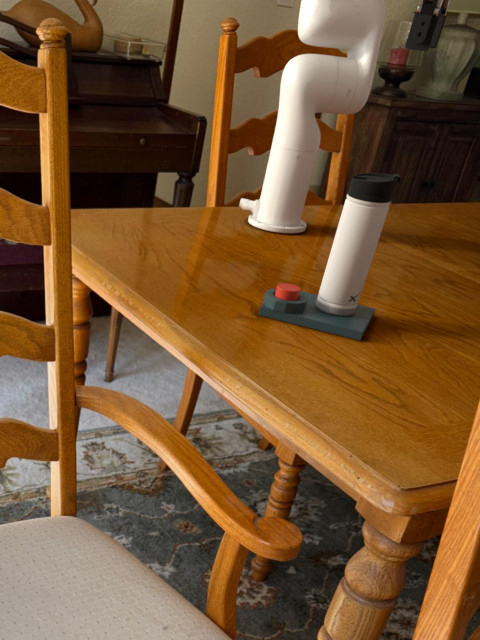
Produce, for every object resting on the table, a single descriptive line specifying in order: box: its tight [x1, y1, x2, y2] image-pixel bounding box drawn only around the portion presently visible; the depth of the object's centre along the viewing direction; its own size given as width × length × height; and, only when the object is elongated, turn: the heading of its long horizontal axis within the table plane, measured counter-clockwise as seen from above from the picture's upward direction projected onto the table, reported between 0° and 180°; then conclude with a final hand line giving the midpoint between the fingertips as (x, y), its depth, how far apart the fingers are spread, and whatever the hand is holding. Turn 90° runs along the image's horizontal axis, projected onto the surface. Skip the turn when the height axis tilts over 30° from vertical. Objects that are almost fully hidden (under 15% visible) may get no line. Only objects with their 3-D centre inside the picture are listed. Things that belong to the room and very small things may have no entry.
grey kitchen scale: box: [258, 287, 376, 341], centre depth 115 cm, size 16×12×3 cm
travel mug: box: [316, 172, 402, 316], centre depth 109 cm, size 6×7×20 cm
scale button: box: [275, 282, 301, 301], centre depth 114 cm, size 4×4×2 cm
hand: (420, 48), depth 105 cm, fingers open, 9 cm apart
